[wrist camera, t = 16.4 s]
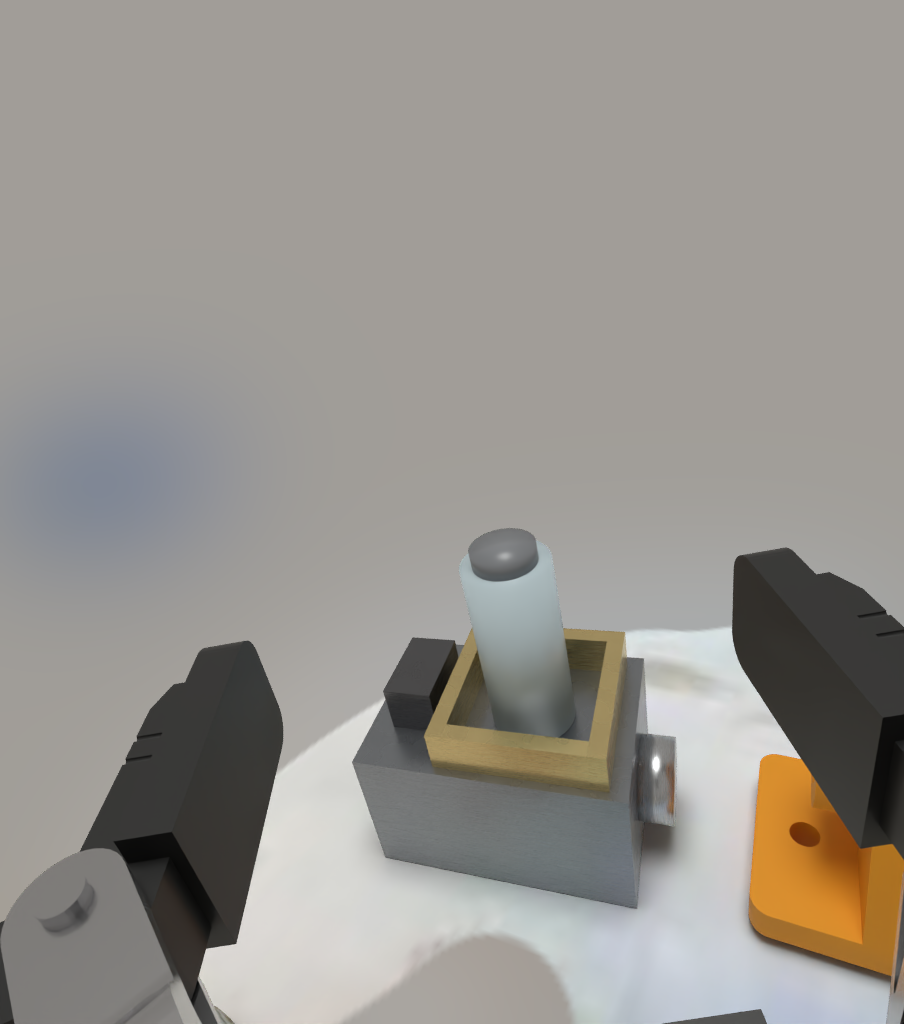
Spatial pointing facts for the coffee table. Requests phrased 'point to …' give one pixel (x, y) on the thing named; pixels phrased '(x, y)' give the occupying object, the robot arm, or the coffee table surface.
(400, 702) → the grey block with frame
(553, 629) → the bottle
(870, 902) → the bracket
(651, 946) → the coffee table surface
